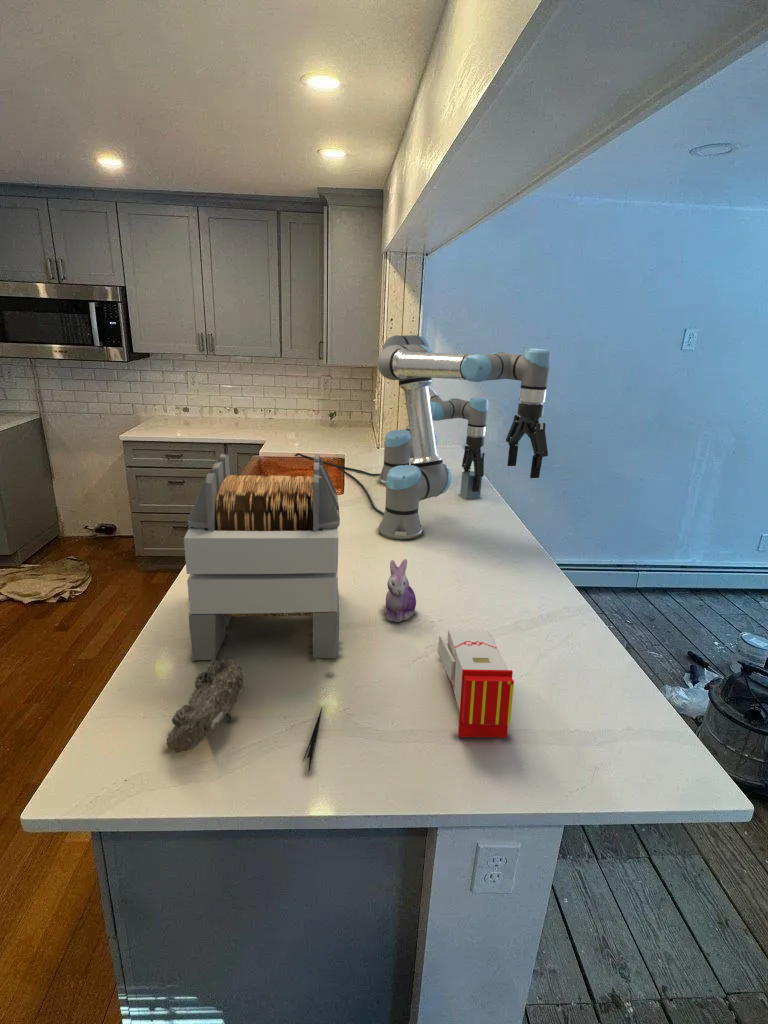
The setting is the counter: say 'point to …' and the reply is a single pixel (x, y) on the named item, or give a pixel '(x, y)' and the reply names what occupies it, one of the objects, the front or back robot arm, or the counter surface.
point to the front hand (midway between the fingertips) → (522, 471)
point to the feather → (313, 740)
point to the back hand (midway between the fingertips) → (470, 488)
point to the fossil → (206, 705)
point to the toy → (478, 682)
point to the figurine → (399, 594)
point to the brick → (469, 486)
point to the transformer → (263, 554)
